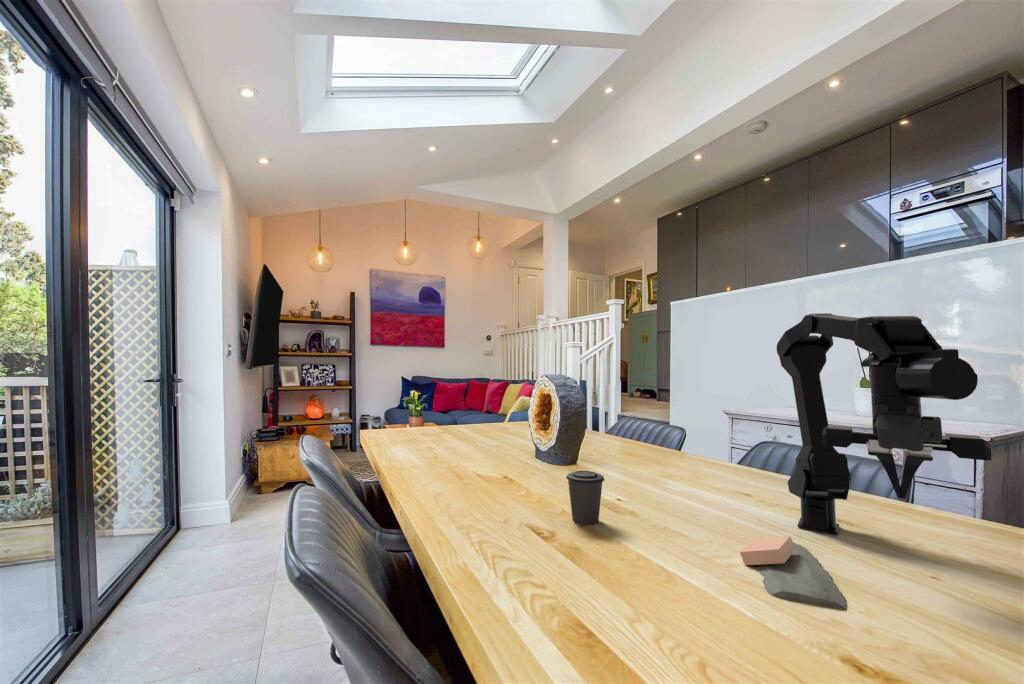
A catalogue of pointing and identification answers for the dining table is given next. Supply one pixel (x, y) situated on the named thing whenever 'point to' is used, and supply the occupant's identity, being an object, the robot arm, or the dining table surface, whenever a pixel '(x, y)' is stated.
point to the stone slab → (802, 580)
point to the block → (768, 551)
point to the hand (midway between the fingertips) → (901, 498)
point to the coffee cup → (585, 496)
